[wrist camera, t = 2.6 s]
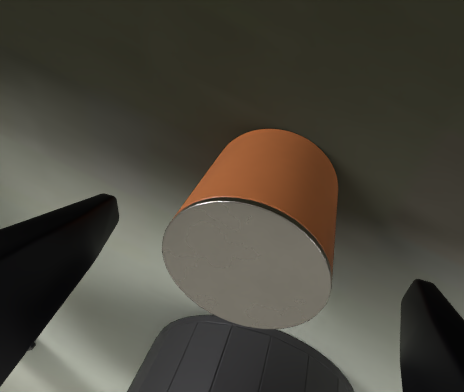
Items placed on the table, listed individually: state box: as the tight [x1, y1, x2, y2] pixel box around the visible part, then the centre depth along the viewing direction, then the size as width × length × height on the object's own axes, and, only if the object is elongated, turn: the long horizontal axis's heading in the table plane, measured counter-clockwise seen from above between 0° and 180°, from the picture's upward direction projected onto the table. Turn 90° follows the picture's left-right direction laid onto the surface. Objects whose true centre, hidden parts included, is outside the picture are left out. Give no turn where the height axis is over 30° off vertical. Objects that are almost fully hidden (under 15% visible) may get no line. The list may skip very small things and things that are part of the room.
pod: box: [162, 129, 338, 329], centre depth 10 cm, size 5×5×4 cm
